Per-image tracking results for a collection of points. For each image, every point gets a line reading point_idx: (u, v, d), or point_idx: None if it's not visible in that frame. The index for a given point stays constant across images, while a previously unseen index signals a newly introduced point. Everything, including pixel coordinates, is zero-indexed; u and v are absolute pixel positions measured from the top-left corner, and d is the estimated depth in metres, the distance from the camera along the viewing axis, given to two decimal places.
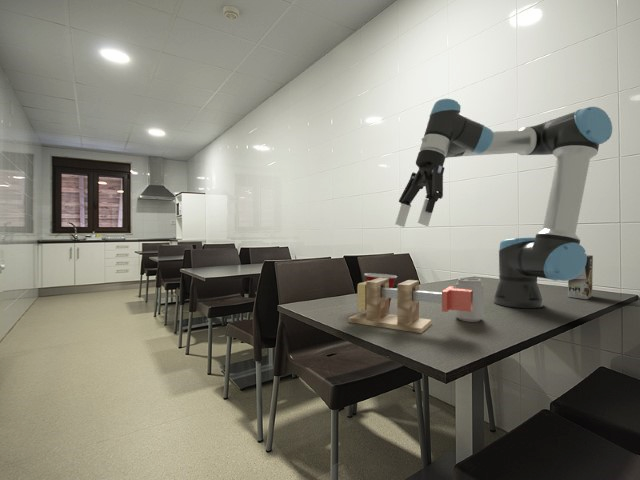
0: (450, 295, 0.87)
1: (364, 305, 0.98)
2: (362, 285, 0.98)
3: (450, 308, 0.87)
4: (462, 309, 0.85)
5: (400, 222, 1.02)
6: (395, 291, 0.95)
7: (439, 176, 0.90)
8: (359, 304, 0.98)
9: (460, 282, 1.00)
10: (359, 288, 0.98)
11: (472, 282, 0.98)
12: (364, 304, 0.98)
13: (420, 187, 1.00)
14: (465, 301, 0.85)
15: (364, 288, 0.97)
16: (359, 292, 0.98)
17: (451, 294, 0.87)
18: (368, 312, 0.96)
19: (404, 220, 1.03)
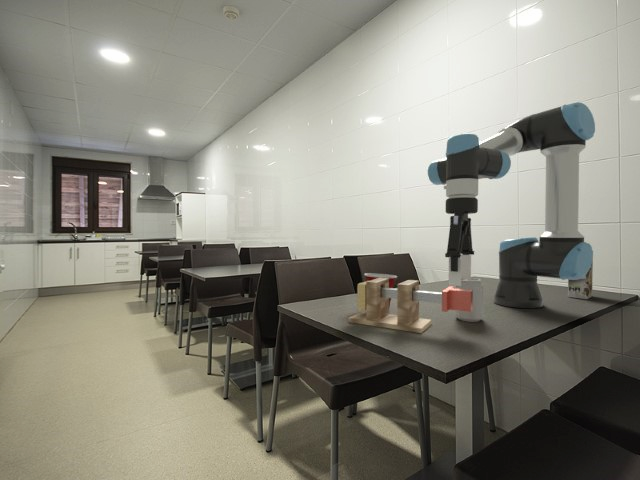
0: (450, 295, 0.87)
1: (364, 305, 0.98)
2: (362, 285, 0.98)
3: (450, 308, 0.87)
4: (462, 309, 0.85)
5: (463, 276, 0.92)
6: (395, 291, 0.95)
7: (455, 229, 0.80)
8: (359, 304, 0.98)
9: None
10: (359, 288, 0.98)
11: (472, 282, 0.98)
12: (364, 304, 0.98)
13: (467, 234, 0.88)
14: (465, 301, 0.85)
15: (364, 288, 0.97)
16: (359, 292, 0.98)
17: (451, 294, 0.87)
18: (368, 312, 0.96)
19: (468, 272, 0.92)
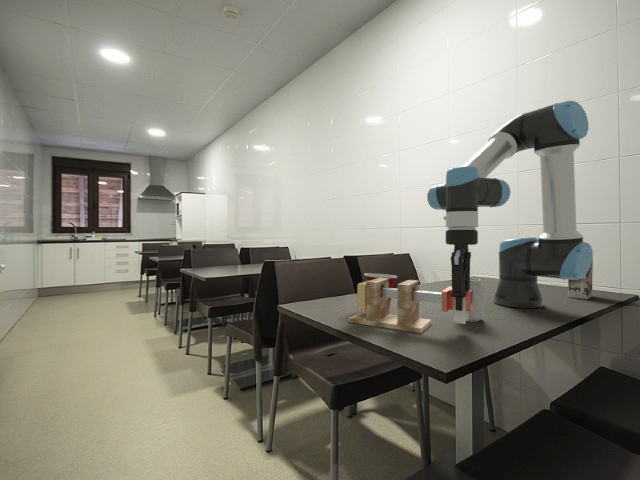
0: None
1: (364, 305, 0.98)
2: (362, 285, 0.98)
3: (450, 308, 0.87)
4: None
5: None
6: (395, 291, 0.95)
7: (457, 270, 0.82)
8: (359, 304, 0.98)
9: None
10: (359, 288, 0.98)
11: (472, 282, 0.98)
12: (364, 304, 0.98)
13: None
14: None
15: (364, 288, 0.97)
16: (359, 292, 0.98)
17: None
18: (368, 312, 0.96)
19: (465, 313, 0.88)
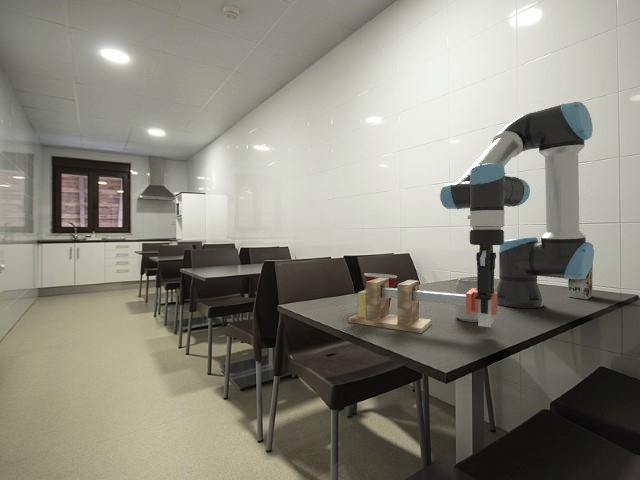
0: (474, 297, 0.84)
1: (364, 313, 0.98)
2: (362, 293, 0.98)
3: (474, 311, 0.84)
4: None
5: None
6: (415, 293, 0.92)
7: (483, 272, 0.79)
8: (359, 312, 0.98)
9: (460, 282, 1.00)
10: (359, 296, 0.98)
11: (472, 282, 0.98)
12: (364, 312, 0.98)
13: None
14: None
15: (364, 296, 0.97)
16: (359, 300, 0.98)
17: None
18: (368, 312, 0.96)
19: None
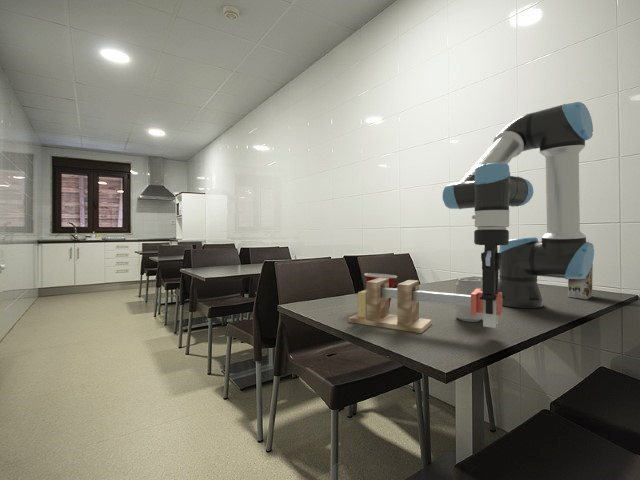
0: (479, 298, 0.83)
1: (364, 313, 0.98)
2: (362, 293, 0.98)
3: (479, 311, 0.83)
4: None
5: None
6: (419, 293, 0.91)
7: (488, 272, 0.78)
8: (359, 312, 0.98)
9: (460, 282, 1.00)
10: (359, 296, 0.98)
11: (472, 282, 0.98)
12: (364, 312, 0.98)
13: None
14: None
15: (364, 296, 0.97)
16: (359, 300, 0.98)
17: (479, 296, 0.83)
18: (368, 312, 0.96)
19: None
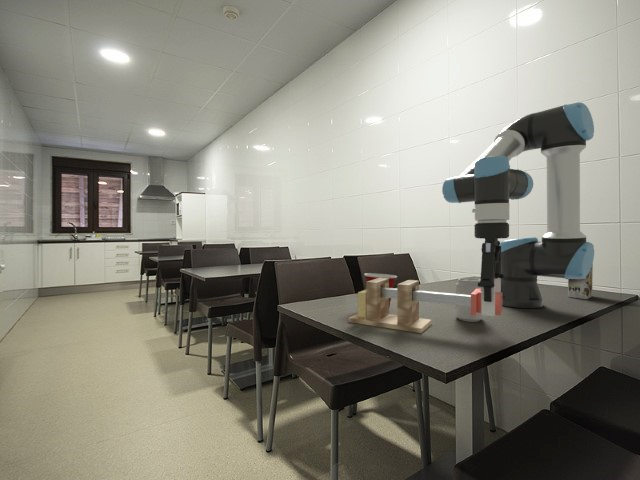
0: (479, 298, 0.83)
1: (364, 313, 0.98)
2: (362, 293, 0.98)
3: (479, 311, 0.83)
4: None
5: None
6: (419, 293, 0.91)
7: (488, 257, 0.77)
8: (359, 312, 0.98)
9: (460, 282, 1.00)
10: (359, 296, 0.98)
11: (472, 282, 0.98)
12: (364, 312, 0.98)
13: None
14: (495, 304, 0.81)
15: (364, 296, 0.97)
16: (359, 300, 0.98)
17: (479, 296, 0.83)
18: (368, 312, 0.96)
19: None
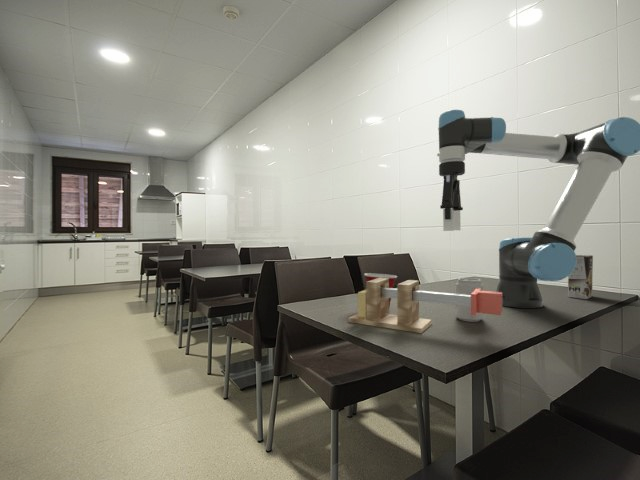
0: (479, 298, 0.83)
1: (364, 313, 0.98)
2: (362, 293, 0.98)
3: (479, 311, 0.83)
4: (492, 312, 0.82)
5: (454, 227, 1.13)
6: (419, 293, 0.91)
7: (448, 185, 1.00)
8: (359, 312, 0.98)
9: (460, 282, 1.00)
10: (359, 296, 0.98)
11: (472, 282, 0.98)
12: (364, 312, 0.98)
13: (456, 192, 1.09)
14: (495, 304, 0.81)
15: (364, 296, 0.97)
16: (359, 300, 0.98)
17: (479, 296, 0.83)
18: (368, 312, 0.96)
19: (458, 224, 1.12)
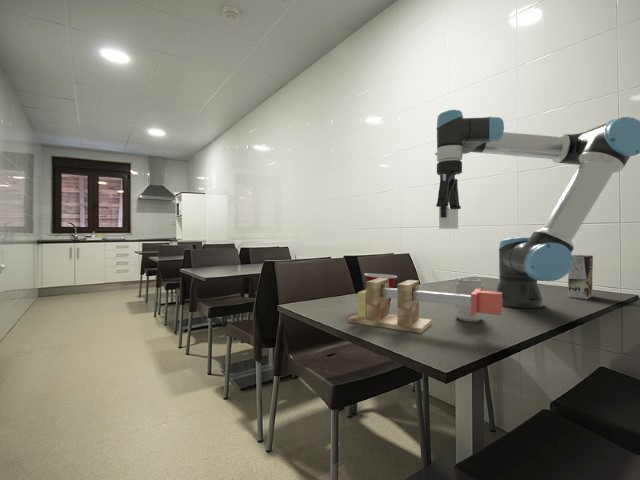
0: (479, 298, 0.83)
1: (364, 313, 0.98)
2: (362, 293, 0.98)
3: (479, 311, 0.83)
4: (492, 312, 0.82)
5: (452, 226, 1.15)
6: (419, 293, 0.91)
7: (444, 184, 1.02)
8: (359, 312, 0.98)
9: (460, 282, 1.00)
10: (359, 296, 0.98)
11: (472, 282, 0.98)
12: (364, 312, 0.98)
13: (454, 191, 1.11)
14: (495, 304, 0.81)
15: (364, 296, 0.97)
16: (359, 300, 0.98)
17: (479, 296, 0.83)
18: (368, 312, 0.96)
19: (455, 223, 1.14)
